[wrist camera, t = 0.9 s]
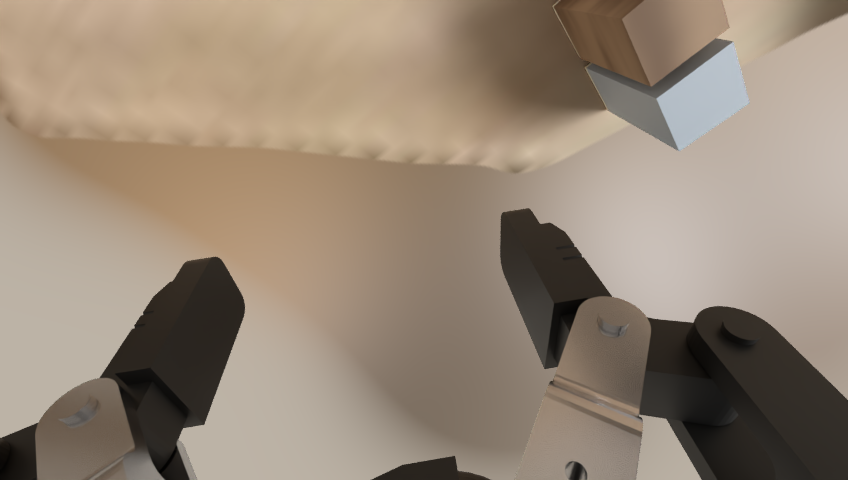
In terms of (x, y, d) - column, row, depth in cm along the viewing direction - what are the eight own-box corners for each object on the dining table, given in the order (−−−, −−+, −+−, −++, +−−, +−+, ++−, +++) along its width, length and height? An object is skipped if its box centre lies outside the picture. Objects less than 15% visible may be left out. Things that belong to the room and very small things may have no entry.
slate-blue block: (637, 23, 31) (733, 41, 23) (657, 71, 33) (749, 103, 25) (584, 67, 32) (656, 98, 24) (607, 109, 35) (679, 151, 27)
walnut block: (608, -46, 28) (707, -53, 20) (633, 12, 30) (729, 27, 22) (551, 6, 29) (621, 19, 21) (579, 57, 32) (651, 87, 24)
